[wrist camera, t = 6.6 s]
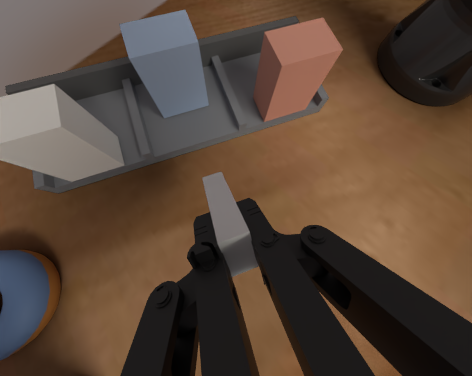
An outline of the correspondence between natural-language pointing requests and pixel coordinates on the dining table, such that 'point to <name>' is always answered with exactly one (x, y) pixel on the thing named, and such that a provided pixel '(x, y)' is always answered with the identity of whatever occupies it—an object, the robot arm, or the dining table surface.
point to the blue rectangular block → (167, 61)
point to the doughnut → (25, 297)
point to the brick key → (293, 67)
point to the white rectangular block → (55, 135)
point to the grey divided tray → (178, 126)
